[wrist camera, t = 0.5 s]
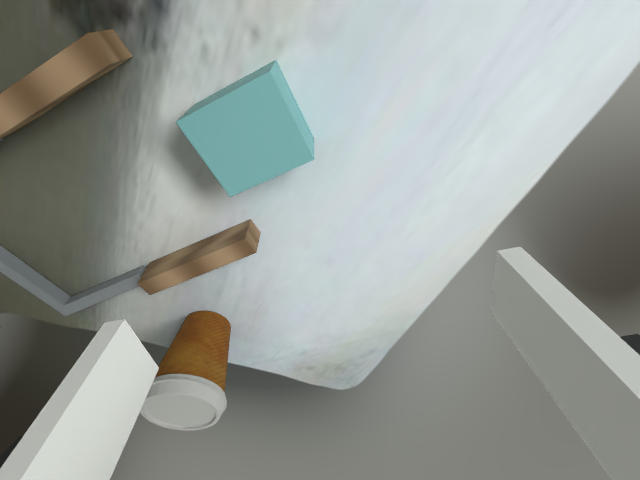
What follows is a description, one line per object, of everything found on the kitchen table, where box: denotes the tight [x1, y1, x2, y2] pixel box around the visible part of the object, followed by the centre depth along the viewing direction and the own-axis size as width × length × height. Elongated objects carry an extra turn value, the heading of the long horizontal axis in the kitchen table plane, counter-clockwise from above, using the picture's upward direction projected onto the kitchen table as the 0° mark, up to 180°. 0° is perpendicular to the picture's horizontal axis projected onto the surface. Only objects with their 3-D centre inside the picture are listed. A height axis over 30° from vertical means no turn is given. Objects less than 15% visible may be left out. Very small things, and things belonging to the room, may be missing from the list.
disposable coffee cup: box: [140, 311, 231, 430], centre depth 40 cm, size 10×10×12 cm
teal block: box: [176, 60, 314, 197], centre depth 27 cm, size 8×7×5 cm
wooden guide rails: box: [0, 29, 260, 295], centre depth 30 cm, size 14×21×4 cm, turn 25°
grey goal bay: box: [0, 137, 146, 316], centre depth 35 cm, size 14×20×2 cm
